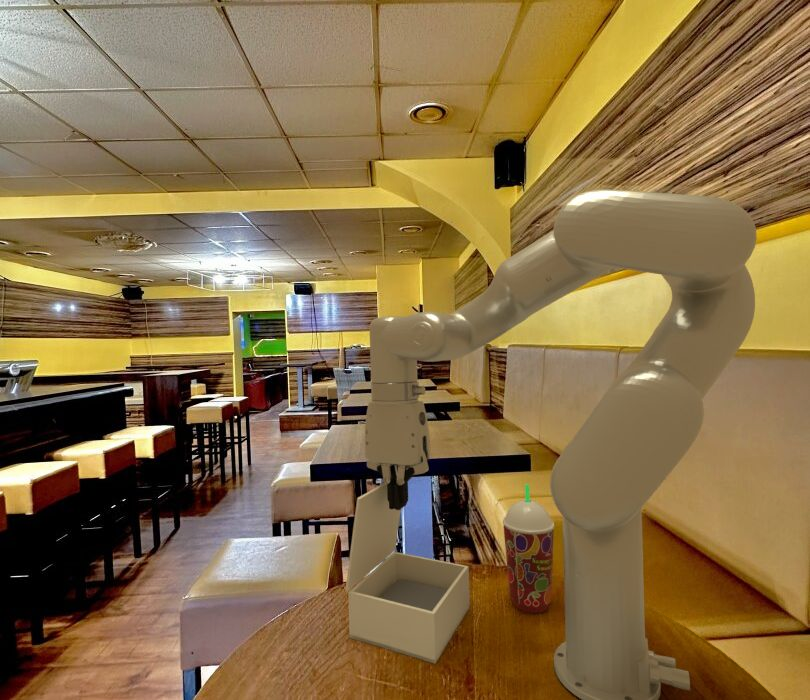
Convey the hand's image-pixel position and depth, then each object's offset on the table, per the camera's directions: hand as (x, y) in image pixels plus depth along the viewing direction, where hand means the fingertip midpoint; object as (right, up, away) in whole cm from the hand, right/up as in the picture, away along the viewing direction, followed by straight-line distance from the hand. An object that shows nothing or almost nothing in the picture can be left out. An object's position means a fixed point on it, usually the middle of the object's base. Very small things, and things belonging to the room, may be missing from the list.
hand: (398, 506), depth 72 cm
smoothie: (+22, -18, +3) cm, 28 cm away
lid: (-3, -4, +2) cm, 5 cm away
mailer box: (+2, -18, -1) cm, 18 cm away
